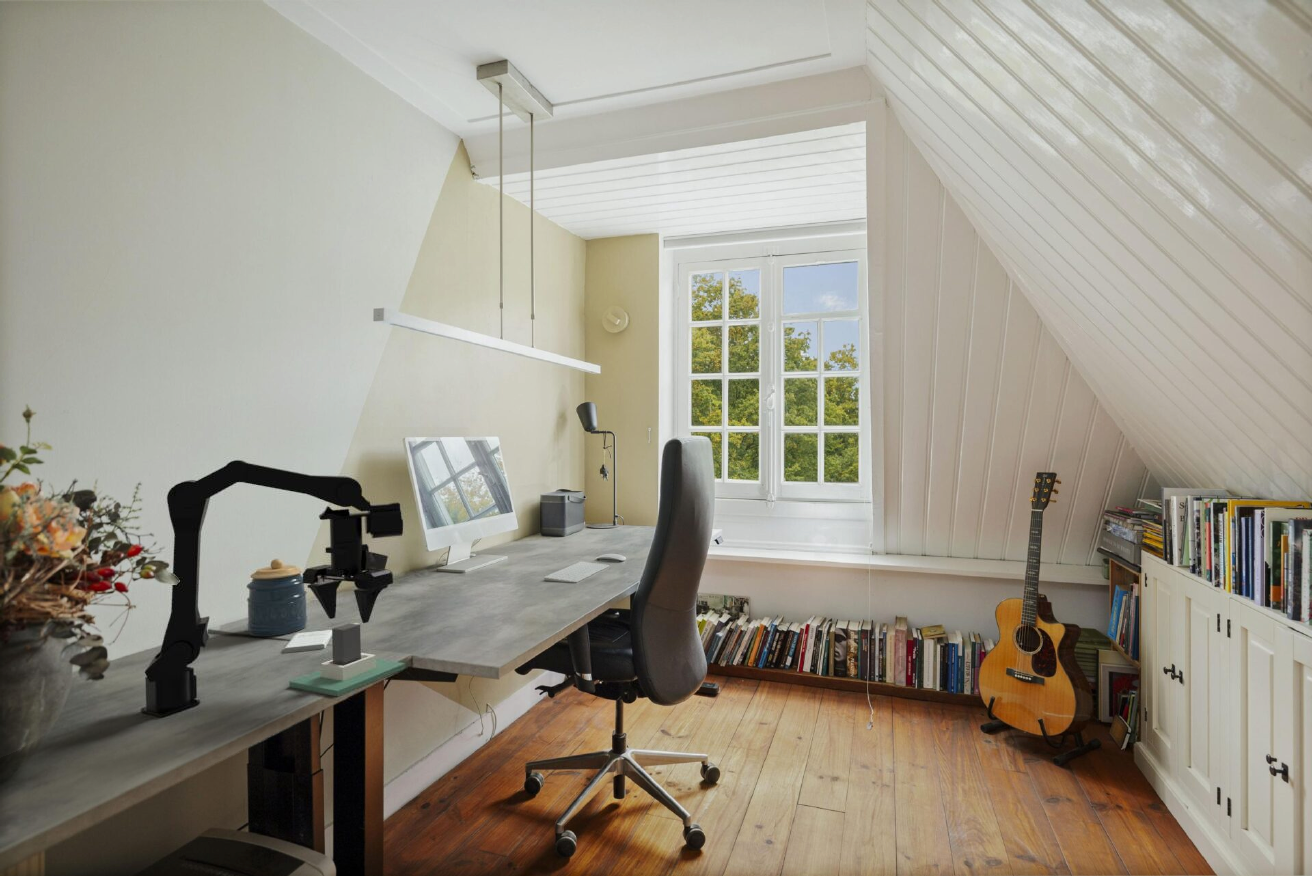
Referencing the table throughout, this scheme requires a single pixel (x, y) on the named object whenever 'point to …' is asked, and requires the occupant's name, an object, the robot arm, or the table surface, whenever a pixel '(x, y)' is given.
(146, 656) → the table surface
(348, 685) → the board
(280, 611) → the canister
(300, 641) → the external hard drive
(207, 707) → the table surface
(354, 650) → the plug
